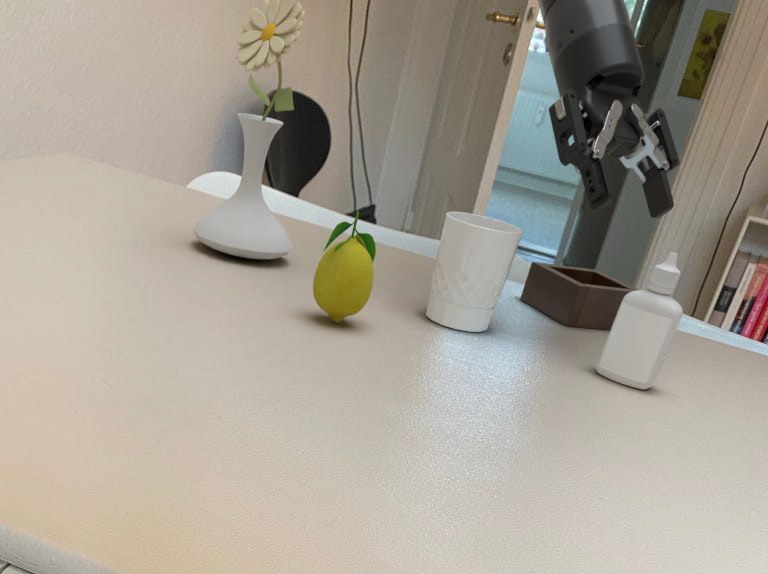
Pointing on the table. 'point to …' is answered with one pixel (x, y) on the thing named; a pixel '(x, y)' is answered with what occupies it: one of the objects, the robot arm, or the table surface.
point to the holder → (575, 295)
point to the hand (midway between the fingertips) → (634, 209)
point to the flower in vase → (256, 142)
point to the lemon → (345, 273)
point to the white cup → (471, 270)
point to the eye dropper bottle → (643, 330)
